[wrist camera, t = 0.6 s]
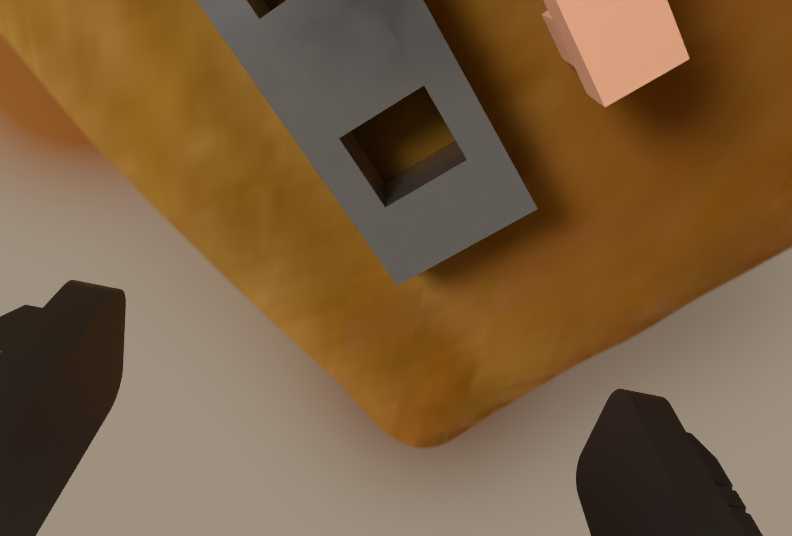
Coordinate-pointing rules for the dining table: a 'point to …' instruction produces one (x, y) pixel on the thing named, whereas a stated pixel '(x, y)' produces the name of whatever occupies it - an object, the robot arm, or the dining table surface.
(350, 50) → the rail
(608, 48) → the block
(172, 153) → the dining table surface
